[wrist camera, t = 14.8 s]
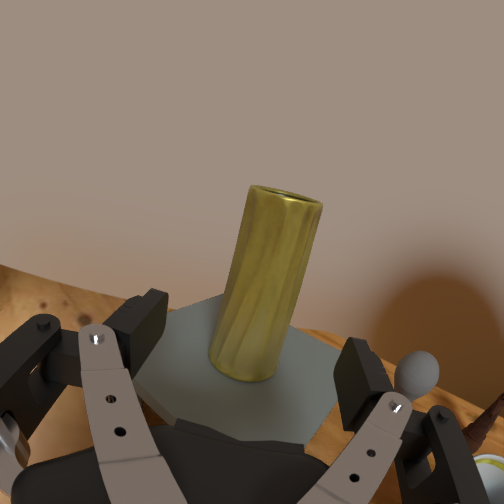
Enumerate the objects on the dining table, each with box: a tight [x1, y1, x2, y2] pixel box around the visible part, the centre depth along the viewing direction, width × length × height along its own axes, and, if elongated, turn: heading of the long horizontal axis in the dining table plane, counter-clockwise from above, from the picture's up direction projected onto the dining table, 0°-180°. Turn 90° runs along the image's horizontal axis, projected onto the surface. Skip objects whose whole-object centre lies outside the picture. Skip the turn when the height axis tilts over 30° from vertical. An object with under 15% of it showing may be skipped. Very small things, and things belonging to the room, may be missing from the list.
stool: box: [132, 294, 342, 448], centre depth 25 cm, size 18×18×9 cm
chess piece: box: [462, 393, 504, 454], centre depth 22 cm, size 5×5×10 cm
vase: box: [208, 185, 323, 382], centre depth 22 cm, size 6×6×14 cm
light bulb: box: [394, 351, 439, 403], centre depth 29 cm, size 6×6×10 cm
